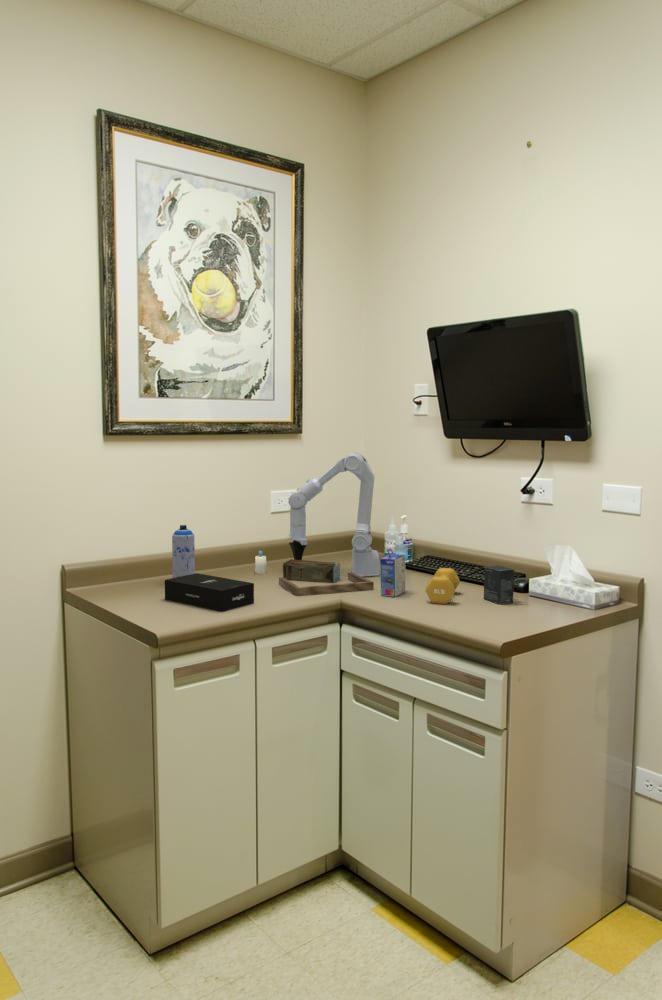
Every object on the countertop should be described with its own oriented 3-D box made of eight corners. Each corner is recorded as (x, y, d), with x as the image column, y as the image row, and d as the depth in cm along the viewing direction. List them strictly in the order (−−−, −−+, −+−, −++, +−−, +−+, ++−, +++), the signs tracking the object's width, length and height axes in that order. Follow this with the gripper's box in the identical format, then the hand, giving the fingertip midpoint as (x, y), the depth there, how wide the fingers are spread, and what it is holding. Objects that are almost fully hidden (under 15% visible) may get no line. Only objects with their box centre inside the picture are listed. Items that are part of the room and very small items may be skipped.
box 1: (164, 600, 236) (164, 579, 236) (197, 593, 247) (196, 573, 246) (222, 613, 221) (222, 590, 221) (254, 604, 232) (254, 583, 232)
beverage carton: (333, 584, 261) (333, 565, 261) (281, 580, 267) (281, 561, 267) (340, 579, 269) (340, 561, 268) (289, 576, 275) (289, 558, 274)
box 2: (513, 602, 235) (514, 568, 234) (498, 604, 232) (499, 570, 231) (497, 597, 242) (498, 564, 241) (483, 599, 239) (483, 566, 238)
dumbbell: (432, 590, 251) (433, 566, 250) (460, 592, 249) (461, 568, 248) (424, 603, 233) (424, 577, 232) (453, 606, 231) (454, 579, 230)
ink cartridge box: (390, 589, 252) (390, 546, 251) (406, 591, 250) (406, 547, 248) (379, 595, 243) (379, 550, 242) (395, 597, 241) (396, 552, 240)
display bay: (351, 579, 269) (351, 572, 268) (373, 589, 252) (373, 582, 252) (278, 584, 259) (278, 577, 258) (296, 596, 242) (296, 588, 242)
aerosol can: (193, 580, 265) (193, 523, 263) (197, 585, 258) (196, 526, 256) (170, 581, 263) (170, 524, 261) (173, 586, 255) (172, 527, 253)
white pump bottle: (264, 571, 282) (264, 549, 282) (267, 573, 279) (267, 551, 278) (254, 571, 281) (253, 550, 280) (257, 573, 277) (257, 552, 276)
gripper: (281, 523, 284) (281, 559, 286) (294, 528, 271) (294, 565, 272) (299, 522, 287) (299, 557, 288) (312, 527, 274) (312, 564, 275)
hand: (297, 561), depth 280 cm, fingers closed
